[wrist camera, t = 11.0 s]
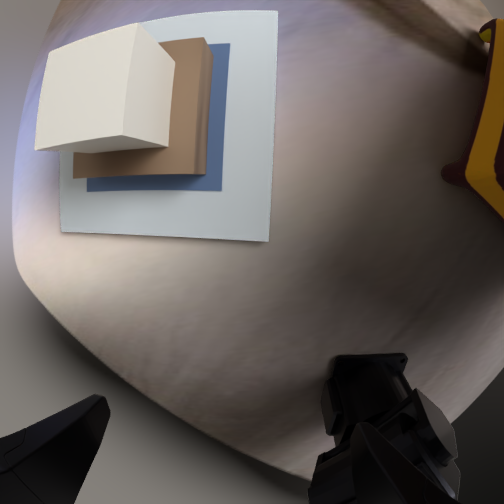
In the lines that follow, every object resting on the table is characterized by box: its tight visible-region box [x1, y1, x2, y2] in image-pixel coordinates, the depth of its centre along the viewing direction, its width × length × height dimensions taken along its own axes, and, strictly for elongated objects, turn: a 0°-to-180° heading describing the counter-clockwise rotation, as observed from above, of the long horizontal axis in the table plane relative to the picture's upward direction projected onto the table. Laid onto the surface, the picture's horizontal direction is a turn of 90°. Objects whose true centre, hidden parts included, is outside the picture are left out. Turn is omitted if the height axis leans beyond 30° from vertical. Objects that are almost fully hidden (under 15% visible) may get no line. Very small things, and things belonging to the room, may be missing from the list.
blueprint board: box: [59, 10, 278, 242], centre depth 15 cm, size 16×16×4 cm
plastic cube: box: [35, 23, 175, 153], centre depth 11 cm, size 5×5×5 cm
